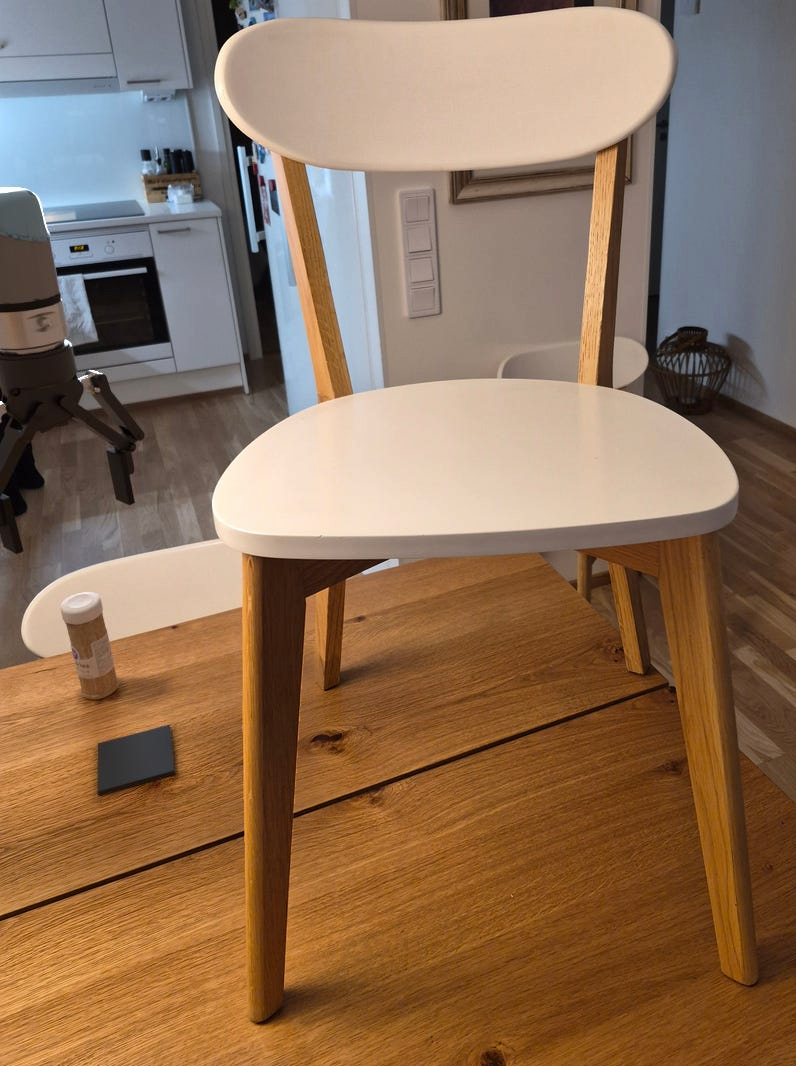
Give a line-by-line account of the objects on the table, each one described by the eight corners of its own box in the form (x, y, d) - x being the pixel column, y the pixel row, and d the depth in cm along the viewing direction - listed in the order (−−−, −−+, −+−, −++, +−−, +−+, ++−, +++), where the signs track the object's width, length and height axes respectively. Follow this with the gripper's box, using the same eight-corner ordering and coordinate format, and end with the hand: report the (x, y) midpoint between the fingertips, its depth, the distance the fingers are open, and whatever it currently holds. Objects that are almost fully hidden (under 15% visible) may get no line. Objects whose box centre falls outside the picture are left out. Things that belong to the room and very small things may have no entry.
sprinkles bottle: (73, 694, 108) (51, 605, 103) (103, 673, 112) (82, 586, 106) (98, 705, 106) (77, 615, 101) (128, 684, 110) (108, 596, 104)
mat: (98, 795, 93) (97, 791, 93) (98, 746, 100) (97, 742, 99) (175, 774, 96) (174, 770, 95) (170, 728, 102) (169, 724, 102)
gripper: (-80, 384, 77) (-23, 583, 85) (156, 322, 96) (184, 491, 104) (-117, 369, 81) (-59, 561, 89) (117, 313, 100) (147, 476, 108)
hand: (72, 524), depth 97 cm, fingers open, 13 cm apart
